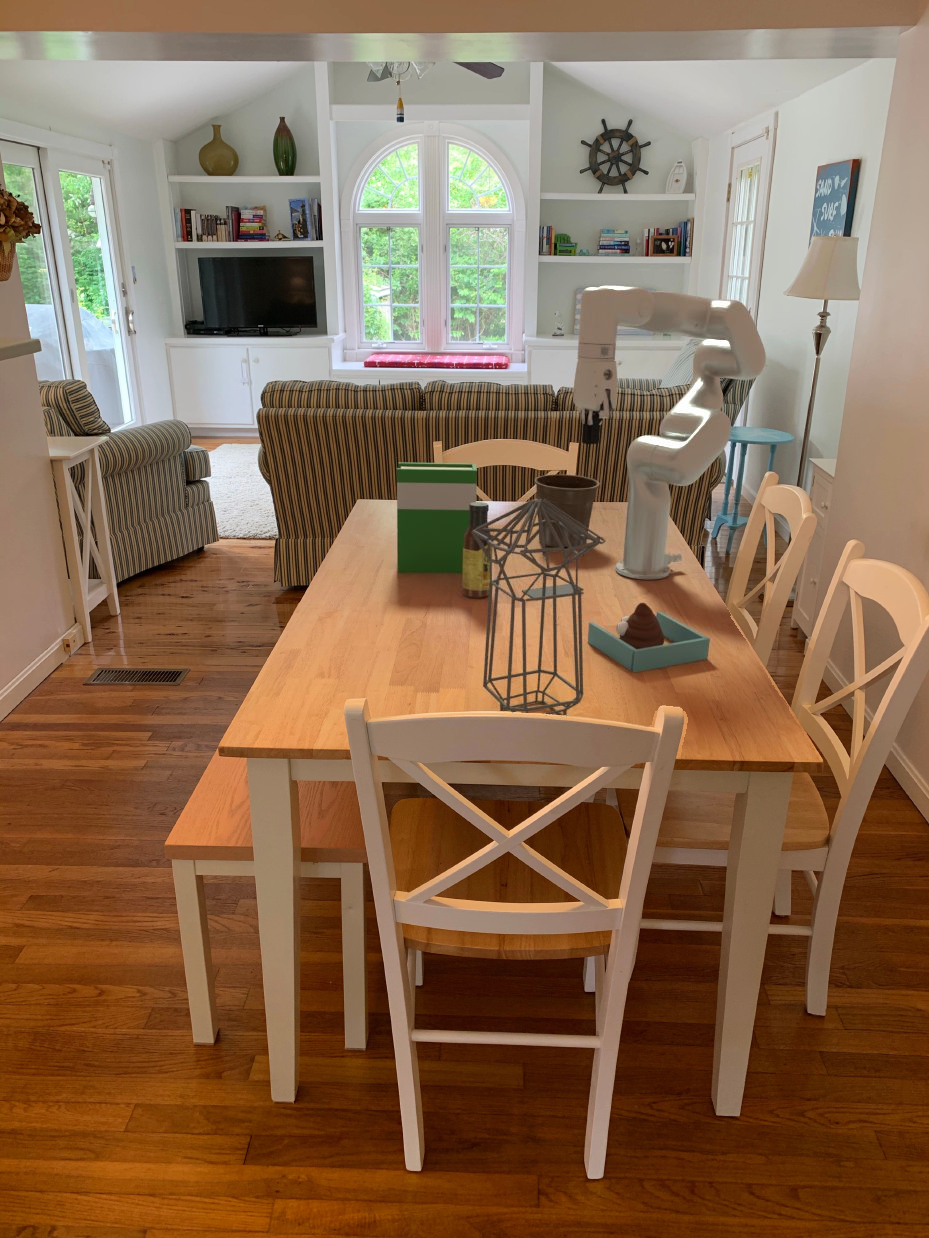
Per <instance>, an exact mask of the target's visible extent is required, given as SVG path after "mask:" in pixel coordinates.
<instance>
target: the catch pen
mask: <svg viewBox="0 0 929 1238" xmlns="http://www.w3.org/2000/svg"><path fill="white" fill-rule="evenodd" d="M655 616H656V618H657V620H658V621H659V623H660V627H661V629H662V632H663V636H664V638H666V639H667V640H669V641H671V642H672V643H666V644H663V645H659V646H653V647H648V648H642V649H635V648H633V647H632V646H630V645H629V644H627V643H625V642H624V641H622V640H621V639H619V638H620V637H617V636H615V635H614V634H613V633H611V632H610V631H608V630H606V629H605V628H604V627H602V626H600V625H598V623H596V622H594V621H590V622H589V623H588V633H587V643H588V644H590V645H591V646H593V647H594V648H596V649H597V650H599V651H600V652H602V653H603V654H605V655H606V656H607V657H609V658H611V659H612V660H613V661H615V662H617V663H618V664H620V665H621V666H623V667H624V668H625V669H627V670H629V671H630V672H632V673H639V672H645V671H649V670H651V671H652V670H655V669H660V668H666V667H671V666H677V665H682V664H688V663H692V662H693V663H694V662H699V661H704V660H708V659H709V658H708V657H709V648H710V640H711V639H710V637H708V636H706V635H704V634H703V633H701V632H699V631H697V630H696V629H693V628H691V627H689V626H688V625H686V624H684V623H682V622H680V621H678V620H677V619H675V618H673V617H671V616H669V615H667V614H665V613H664V612H662V611H657V612H656V614H655Z"/></svg>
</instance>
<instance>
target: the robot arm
mask: <svg viewBox="0 0 929 1238" xmlns="http://www.w3.org/2000/svg"><path fill="white" fill-rule="evenodd" d="M579 313H580V315H579V328H578V329H579V331H578V341H577V342H578V345H577V346H578V347H577V363H576V368H575V374H574V382H573V383H574V384H573V393H572V395H573V396H572V397H573V404H574V405H575V406H576V411H577V412H578V413H579V414H580V415H581V423H582V430H581V431H582V433H581V443H582V444H585V445H598V444H599V443H600V435H601V434H600V430H601V425H602V423H603V420H604V419H608V418H609V417H610V411H614V410H615V409H617V402H618V401H617V400H618V399H617V398H618V370H617V362H616V360H615V359H616V348H617V347H616V346H617V344H616V343H617V335H618V334H617V333H618V327H625V328H631V329H638V330H643V331H646V332H651V333H657V334H665V335H666V334H667V335H673V336H682V337H686V338H694V339H704V340H702V341H701V342H700V343H699V344H698V345H697V347H696V348H695V351H694V354H693V357H692V358H693V359H692V379H691V380H692V381H691V385H690V386H689V389H688V390H687V391H686V392H685V394H684V395H683V396H682V397H681V398H680V399H679V400H678V402H677V403H676V404H675V405H674V406H673V407H672V408H671V409H670V410H669V411H668V412H667V413H666V414H665V416H664V418H663V419H662V421H661V423H660V425H659V435H652V434H647V435H642V436H639V437H637V438H635V439H634V440H633V441H632V442H631V444H630V445H629V448H628V449H627V454H626V464H627V465H626V466H627V473H628V474H627V476H628V498H627V506H626V507H627V509H626V510H627V511H626V520H625V534H624V544H623V554H622V560H620V561H618V562H617V563H616V564H615V572H617V573H618V574H619V575H621V576H623V577H627V578H630V579H636V580H646V581H647V580H648V581H650V580H653V581H654V580H661V579H665V578H667V577H669V576H670V574H671V567H670V566H669V565H670V564H671V563H679V562H681V561H682V559H683V558H682V557H683V556H682V554H681V553H672V554H671V553H670V552H669V551H667V550H666V549H667V540H668V539H667V538H668V529H669V520H670V519H669V518H670V509H671V502H672V499H671V493H670V489H669V485H668V484H670V485H674V486H678V487H679V486H681V487H686V486H689V485H692V484H693V483H695V482H696V481H697V480H698V479H699V478H700V477H701V476H702V475H703V474H704V473H705V472H706V470H707V469H708V468H709V467H710V466H711V464H713V463H714V461H716V459H717V458H718V457H719V456H720V454H721V453H722V452H723V451H724V449H725V448H726V446H727V444H729V443H728V442H729V440H730V437H731V433H732V424H731V420H730V418H729V416H728V415H727V414H726V413H725V412H723V411H721V409H722V407H723V402H724V395H723V391H722V385H721V379H720V378H722V379H723V378H724V379H725V378H726V379H732V380H740V381H750V380H754V379H756V378H757V377H758V376H760V375H761V374H762V372H763V370H764V368H765V365H766V360H767V359H766V357H767V356H766V350H765V346H764V343H763V340H762V338H761V336H760V334H759V331H758V328H757V326H756V323H755V321H754V319H753V317H752V314H751V312H750V311H749V309H748V308H747V307H746V306H745V304H744V303H743V302H741V301H740V300H738V299H723V298H722V299H721V298H709V297H701V296H697V295H690V294H686V293H681V292H676V291H658V290H657V291H649V290H648V289H646V288H643V287H640V286H626V285H625V286H623V285H602V286H599V287H598V286H596V287H594V286H593V287H591V286H590V287H587V288H584V290H583V291H582V292H581V297H580V312H579ZM666 551H667V552H666Z"/></svg>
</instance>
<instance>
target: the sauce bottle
mask: <svg viewBox="0 0 929 1238" xmlns="http://www.w3.org/2000/svg"><path fill="white" fill-rule="evenodd" d="M489 509H490V508H489V503H487V502H482V501H476V502H473V503H470V505H469V510H470V521H469V523H470V525H469V527H468V529H467V530H466V532H465V534H464V546H463V574H461V575H462V576H461V578H462V581H461V584H462V585H461V586H462V594H463V595H464V596H465V597H468V598H475V599H480V598H485V597H489V583H490V561H489V560H488V559H487V557H486V555H485V554H484V552H483V551H482V549H481V547H480V546H479V544H478V542H477V541H476V539H475V538H474V536H473V534H472V533H471V532H472V531H473V530H475V529H476V528H477V527H479V526H481V525H483V524H485V523H487V522H489V521H488V519H489V518H488V516H489V515H488V514H489ZM485 528H489V526H487V527H485ZM477 532H478V531H477ZM479 533H480V532H479ZM487 533H489V534H491V532H487ZM480 534H482V533H480ZM482 535H483V534H482ZM484 536H485V535H484ZM478 537H479V536H478ZM486 537H487V536H486ZM488 538H489V537H488ZM479 539H480V541H481V542H482V544H483V545H484V547H485V549H486V550H487V552H488V547H487V541H486V540H484V539H482V538H480V537H479ZM490 539H491V538H489V540H490ZM493 549H494V548H493V546H491V545H490V553H491V558H492V559H493Z"/></svg>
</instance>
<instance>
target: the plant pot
mask: <svg viewBox="0 0 929 1238" xmlns="http://www.w3.org/2000/svg"><path fill="white" fill-rule="evenodd" d="M534 483H535V484H536V485H535V486H536V487H535V488H536V497H537V499H538V500H540V499H541V500H543V501H544V499H545V500H547V501H548V502H550V503H551V504H553V505H554V506H556V507H557V508H559V509H560V510H562V511H563V512H564V513H566V514H567V515H569V516H570V517H572V518H573V519H575V520H576V521H578V522H579V523H581V524H582V525H584V526H585V527H587V528H588V529H590V524H591V523H590V522H591V517H592V511H593V508H594V507H593V506H594V501H595V500H596V496H597V491H598V488H599V487H600V482H599V481H598V480H596V479H594V478H590V477H586V476H582V475H574V474H546V475H540V476H537V477H536V478H534ZM560 513H561V512H560ZM546 514H547V513H546ZM563 515H564V514H563ZM547 516H548V518H549V519H550V521H554V520H553V519H552V518H551V517H550V516H549V515H548V514H547ZM541 517H542V521H543V520H545V518H544V516H543V515H542V513H541ZM566 517H567V516H566ZM567 518H568V517H567ZM569 519H570V518H569ZM570 520H571V519H570ZM571 521H573V520H571ZM573 522H574V521H573ZM574 523H576V522H574ZM551 524H552V526H553V528H554V530H555V532H556V534H557V535H558V537H559V539H560V541H561V543H562V545H563V547H564V548H568V546H567V544H566V542H565V539H564V537H563V535H562V533H561V531H560V528H559V526H558V524H557V523H553V522H551ZM576 524H577V523H576ZM577 525H578V526H580V525H579V524H577ZM580 527H581V528H583V527H582V526H580ZM563 529H564V528H563ZM583 529H584V530H585V531H587V532H588V533H589V531H588V530H586V529H585V528H583ZM564 531H565V533H566V535H567V538H568V540H569V542H570V544H571V546H572V547H574V545H575V541H576V538H575V537H573V535H572V534H570V533H569V532H568V531H566V530H565V529H564ZM576 531H577V530H576ZM543 532H544V540H545V547H548V548H559V545H558V543H557V542H556V540H555V538H554V536H553V534H552V532H551V530H550V528H549V526H548V524H547V525H546V526H545V527H544V528H543ZM577 532H578V531H577ZM578 533H579V534H581V533H580V532H578ZM581 535H583V534H581ZM538 541H539V543H540V544H541V538H540V533H539V534H538ZM583 544H584V541H582V540H579V539H578V543H577V546H579V545H583Z"/></svg>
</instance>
